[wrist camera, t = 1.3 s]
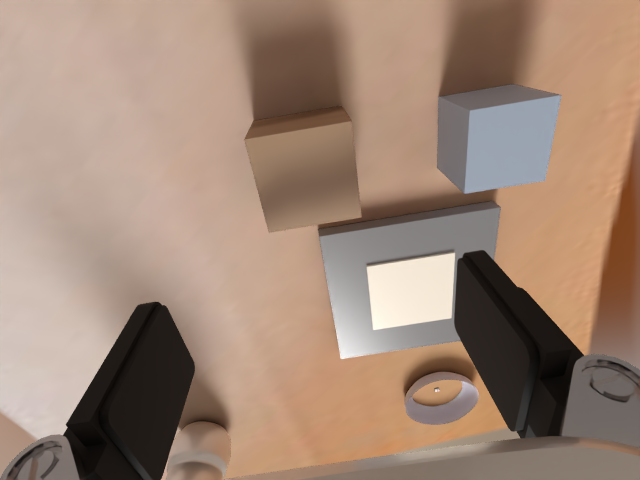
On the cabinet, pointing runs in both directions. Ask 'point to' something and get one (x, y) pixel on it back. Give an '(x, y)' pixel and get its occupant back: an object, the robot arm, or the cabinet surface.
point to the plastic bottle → (199, 453)
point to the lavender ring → (445, 411)
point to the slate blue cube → (496, 136)
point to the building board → (401, 276)
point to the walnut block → (305, 168)
